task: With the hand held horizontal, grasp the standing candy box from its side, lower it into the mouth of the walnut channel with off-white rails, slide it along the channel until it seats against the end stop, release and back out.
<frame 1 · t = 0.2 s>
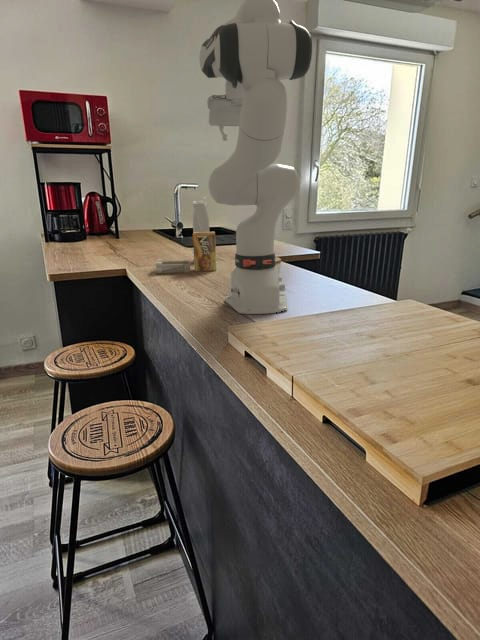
hand: (238, 140, 144), 48 cm above the worktop, tool pointing down, fingers open, 8 cm apart
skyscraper: (203, 261, 193), on the worktop
lidded jar: (266, 280, 154), on the worktop
channel: (173, 271, 172), on the worktop
candy box: (205, 270, 174), on the worktop
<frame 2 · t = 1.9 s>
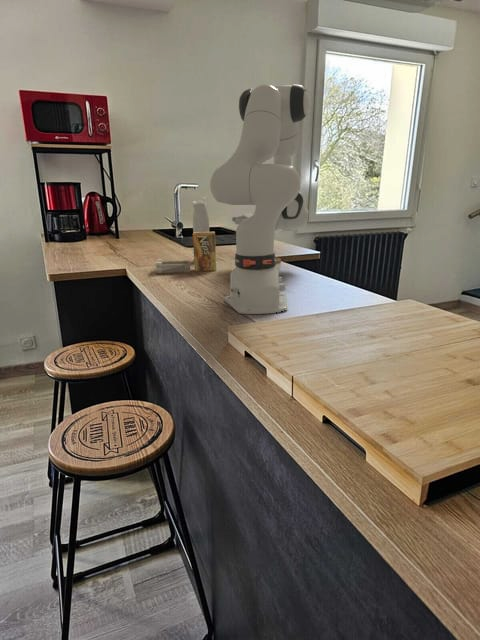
hand: (233, 220, 169), 19 cm above the worktop, tool horizontal, fingers open, 8 cm apart
nothing on the worktop moved.
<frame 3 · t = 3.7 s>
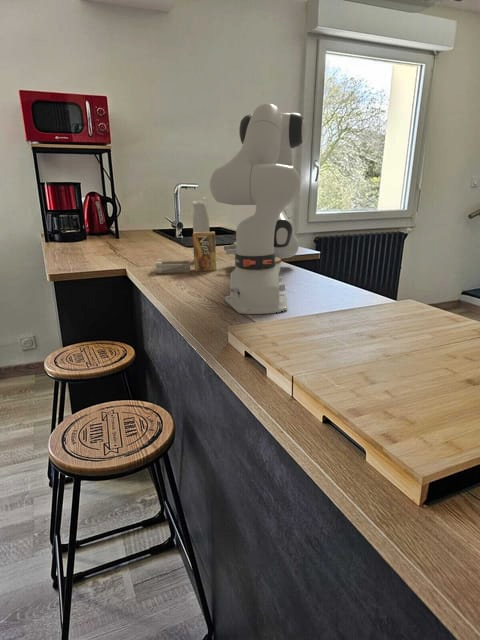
hand: (224, 249, 172), 8 cm above the worktop, tool horizontal, fingers open, 8 cm apart
nothing on the worktop moved.
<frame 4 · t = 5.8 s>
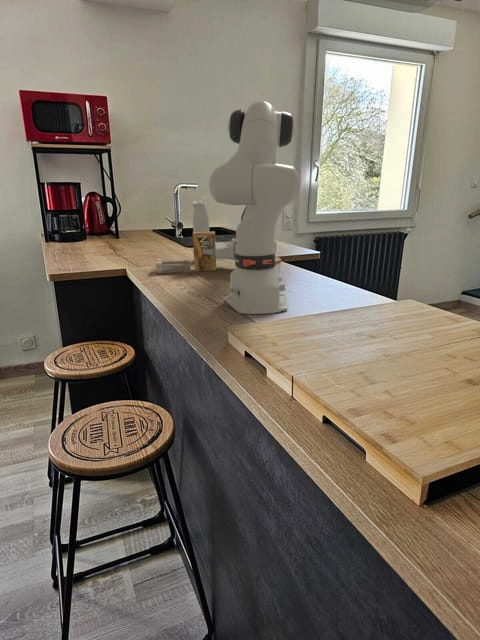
hand: (202, 250, 171), 8 cm above the worktop, tool horizontal, fingers closed on candy box, 4 cm apart
candy box: (205, 270, 174), on the worktop, touching gripper
everything else where it was.
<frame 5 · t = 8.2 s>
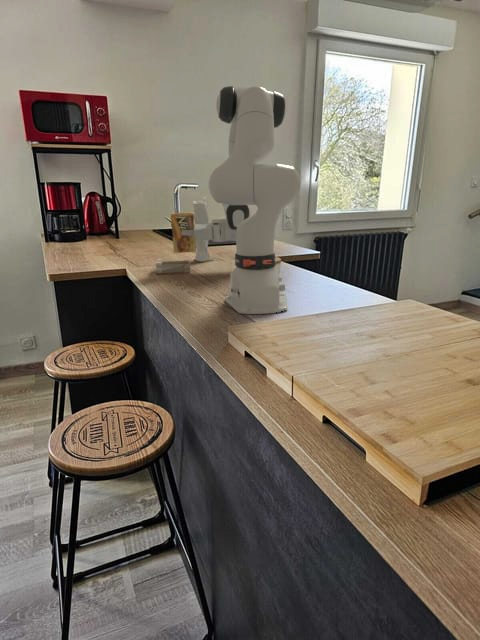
hand: (181, 232, 168), 16 cm above the worktop, tool horizontal, fingers closed on candy box, 4 cm apart
candy box: (185, 252, 170), point 7 cm above the worktop, touching gripper
everything else where it was.
when the fingers open (9 cm above the worktop, at t = 10.7 s): candy box stays where it is, resting on channel.
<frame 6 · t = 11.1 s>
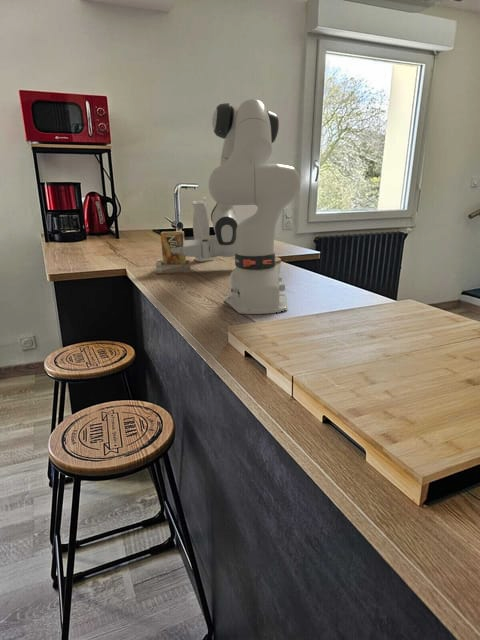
hand: (171, 248, 169), 9 cm above the worktop, tool horizontal, fingers open, 8 cm apart
candy box: (175, 270, 172), resting on channel
everything else where it was.
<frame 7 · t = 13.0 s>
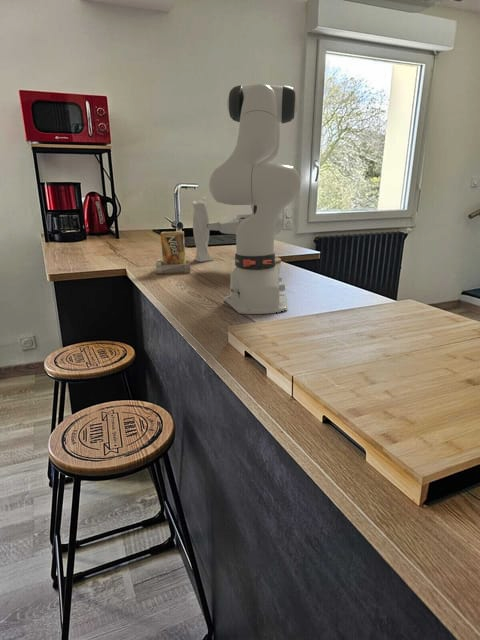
hand: (207, 226, 168), 17 cm above the worktop, tool horizontal, fingers open, 8 cm apart
nothing on the worktop moved.
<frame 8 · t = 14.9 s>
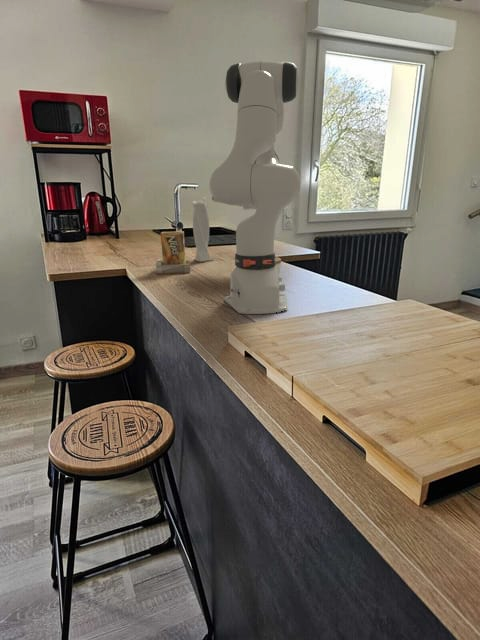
hand: (212, 198, 165), 28 cm above the worktop, tool horizontal, fingers open, 8 cm apart
nothing on the worktop moved.
at the end: candy box inside the target area (1.0 cm from its centre), resting on channel; candy box tilted 0°; the gripper is holding nothing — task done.
